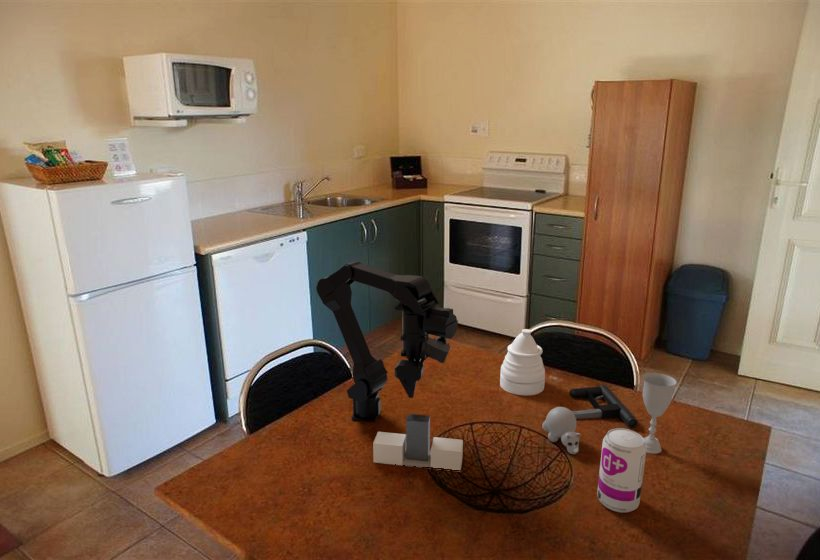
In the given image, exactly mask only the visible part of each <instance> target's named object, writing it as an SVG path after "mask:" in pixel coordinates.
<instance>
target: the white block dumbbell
mask: <svg viewBox="0 0 820 560" xmlns="http://www.w3.org/2000/svg"><path fill="white" fill-rule="evenodd" d="M463 444H464V440H463V439H456V438H447V437H437V436H436V437H435V436H434V437H433V439H432V443H431V445H430V455H429V459H428V462H426V461H417V460H408V459H406V433H397V432H396V433H395V432H386V431H385V432H384V431H377V433H376V436H375V438H374V440H373V443H372V446H373V447H372V452H373V454H372V455H373V456H372V457H373V463H375V464H376V463H377V464H385V465H395V464H396V465H395V466H403V465H405V466H404V467H413V466H416V467H415V468H422V467H433V468H444V469H452V470H461V471H462V463H463V451H464V450H463V448H464V445H463Z"/></svg>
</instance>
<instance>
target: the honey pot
mask: <svg viewBox="0 0 820 560" xmlns="http://www.w3.org/2000/svg"><path fill="white" fill-rule="evenodd" d="M531 333H532V330H531V329H528V328H524V329H521V332H520V333H519V334H518V335H516V337H515V339H514V340H513V341H512V343H511V344H509V345H507V353H506V355H504V360H503V361H502V364H501V365H500V378H499V382H500V383H499V386H500V388H501V389H502V390H504V391H505V392H507V393H511V394H513V395H518V396H535V395H538V394H540V393H542V392H543V391H544V389H545V383H546V369H545V366H544V363H543V358H542V357H541V355H543V348H542V347H541V346H540V345H538V344H537V343H536V341H535V339H534V337H533V335H531Z"/></svg>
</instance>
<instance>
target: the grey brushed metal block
mask: <svg viewBox="0 0 820 560" xmlns="http://www.w3.org/2000/svg"><path fill="white" fill-rule="evenodd" d="M405 434H406V459H408V460H417V461H426V462H428V459H429V455H430V452H431V415H425V414H423V415H422V414H414V413H413V414H412V413H408V415H407V416H406V420H405Z"/></svg>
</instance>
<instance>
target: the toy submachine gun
mask: <svg viewBox="0 0 820 560" xmlns="http://www.w3.org/2000/svg"><path fill="white" fill-rule="evenodd" d="M569 396H570V398H571V399H584V398H585V399H587V400H588V402H589V403H590V405H591V406H592V407H593V408H591V409H584V410H571V411H572V413H573V414H574V415H575V417H576V420H581V419H583V420H584V419H597V418H601V419H602V420H605V419H608V420H609V419H621V420H622V421H623V423H624V424H625V425H626V426H628V427H629V428H631V429H632V428H636V427H637V426H638V423H639V422H638V421H639V419H637V417H635V415H634V414H633V413H632V412H631V411H630V410H629V409H628V408H627V406H625V404H624V403H623V402H622V401H621V400H620V399H619V398H618V396H616V394H615V393H614V392H613V390H612V389H610V388H609V387H608V385H607V384H600V385H599V386H590V387H588V386H587V387H578V388H571V389H570V390H569ZM600 399H604V401H605V402H606V403H607V404H599V403H598V402H597V401H598V400H600Z"/></svg>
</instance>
